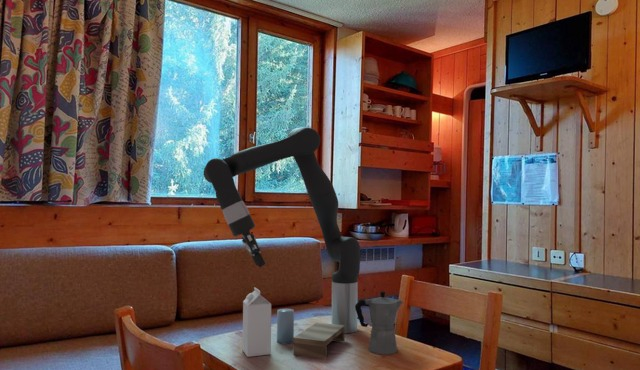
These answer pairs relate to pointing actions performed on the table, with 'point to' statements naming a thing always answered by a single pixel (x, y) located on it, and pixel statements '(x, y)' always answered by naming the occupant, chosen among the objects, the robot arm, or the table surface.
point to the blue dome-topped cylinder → (285, 326)
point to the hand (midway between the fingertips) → (260, 265)
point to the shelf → (317, 339)
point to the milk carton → (256, 325)
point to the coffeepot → (380, 323)
